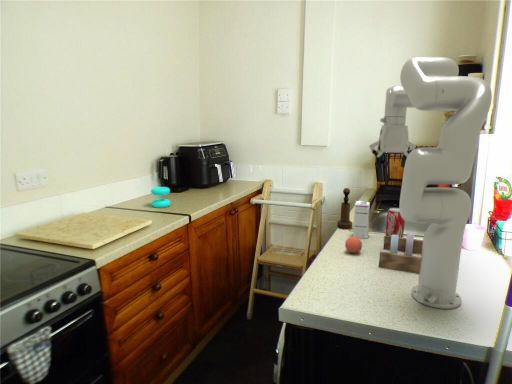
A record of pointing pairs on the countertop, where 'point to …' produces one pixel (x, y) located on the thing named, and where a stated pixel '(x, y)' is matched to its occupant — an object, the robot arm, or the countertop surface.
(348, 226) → the brown wooden tall piece
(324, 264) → the countertop surface
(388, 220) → the soda can
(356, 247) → the ball
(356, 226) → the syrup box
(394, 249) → the front pin
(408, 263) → the wooden blocks
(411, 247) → the side pin
